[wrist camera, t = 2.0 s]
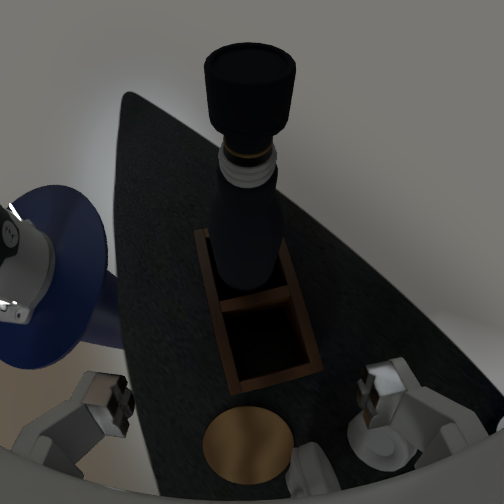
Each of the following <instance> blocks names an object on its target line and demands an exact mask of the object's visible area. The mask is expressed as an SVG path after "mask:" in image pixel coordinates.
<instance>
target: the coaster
mask: <svg viewBox="0 0 504 504" xmlns="http://www.w3.org/2000/svg"><path fill="white" fill-rule="evenodd" d="M293 448H294V440H293V436H292V433H291V430H290V429H289V427H288V425H287V424H286V423H285V421H284V420H283V419H282V418H281V417H279V416H278V415H277V414H275V413H273V412H272V411H270V410H267V409H264V408H261V407H256V406H241V407H236V408H232V409H230V410H227V411H225V412H223V413H222V414H220V415H219V416H217V417H216V418H215V419H214V420H213V421H212V422H211V424H210V425H209V427H208V428H207V430H206V432H205V435H204V439H203V451H204V456H205V458H206V461H207V462H208V464H209V466H210V467H211V468H212V469H213V470H214V471H215V472H216V473H217V474H218V475H220V476H221V477H223V478H224V479H226V480H229V481H231V482H234V483H238V484H247V485H249V484H259V483H263V482H266V481H268V480H271V479H272V478H274V477H276V476H277V475H279V474H280V473H281V472H282V471H283V470H284V469H285V468H286V467H287V465H288V464H289V462H290V460H291V454H292V449H293Z"/></svg>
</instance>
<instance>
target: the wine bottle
mask: <svg viewBox="0 0 504 504" xmlns="http://www.w3.org/2000/svg"><path fill="white" fill-rule="evenodd" d="M204 73H205V83H206V92H207V101H208V109H209V110H208V111H209V118H210V122H211V124H212V125H213V127H214V128H215V129H216V130H217V131H218V132H220V133H222V134H223V135H224V138H223V143H222V146H221V148H220V149H219V155H218V157H219V163H218V166H217V180H218V188H219V191H218V193H217V194H216V196H215V198H214V200H213V203H212V205H211V210H210V216H209V223H208V233H209V237H210V242H211V246H212V250H213V254H214V258H215V262H216V266H217V269H218V273H219V277H220V281H221V285H222V287H223V288H224V290H225V292H226V293H227V294H229V295H230V296H231V297H233V298H236V297H241V296H245V295H249V294H253V293H257V292H261V291H265V290H266V289H267V287H268V285H269V282H270V279H271V276H272V272H273V269H274V266H275V262H276V259H277V256H278V252H279V249H280V246H281V242H282V239H283V235H284V217H283V211H282V207H281V204H280V201H279V199H278V196H277V194H276V192H275V188H276V183H277V176H278V168H277V165H276V160H277V152H276V150H275V146H274V144H273V136H274V135H276V134H278V133H279V132H280V131H281V130H282V129H284V127H285V125H286V123H287V121H288V117H289V111H290V105H291V99H292V93H293V87H294V80H295V75H296V63H295V61H294V60H293V58H292V57H291V56H290V55H289V54H288V53H286V52H285V51H283V50H281V49H279V48H277V47H274V46H272V45H267V44H262V43H251V42H245V43H235V44H231V45H227V46H223V47H221V48H219V49H217V50H215V51H214V52H212V53H211V54H210V55H209V56H208V57H207V58H206V61H205V64H204Z"/></svg>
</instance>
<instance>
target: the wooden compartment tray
mask: <svg viewBox="0 0 504 504" xmlns="http://www.w3.org/2000/svg"><path fill="white" fill-rule="evenodd" d="M194 237H195V242H196V247H197V252H198V257H199V262H200V267H201V272H202V277H203V282H204V286H205V291H206V296H207V300H208V305H209V309H210V313H211V318H212V322H213V326H214V331H215V335H216V339H217V343H218V347H219V351H220V355H221V359H222V363H223V367H224V371H225V375H226V379H227V383H228V387H229V390H230V394H231V395H235V394H239V393H242V392H248V391H252V390H256V389H260V388H264V387H267V386H271V385H275V384H279V383H282V382H286V381H289V380H293V379H296V378H299V377H303V376H306V375H309V374H312V373H316V372H319V371H322V370H324V368H323V365H322V361H321V357H320V354H319V350H318V347H317V343H316V340H315V336H314V333H313V330H312V326H311V323H310V319H309V316H308V313H307V309H306V306H305V303H304V299H303V296H302V293H301V289H300V286H299V283H298V280H297V277H296V273H295V270H294V267H293V264H292V261H291V257H290V254H289V251H288V248H287V245H286V242H285V239H284V236H283V239H282V242H281V246H280V249H279V252H278V256H277V259H276V262H275V266H274V269H273V271H274V274H275V278H276V281H277V284H278V287H277V288H273V289H269V290H265V291H261V292H257V293H253V294H249V295H245V296H241V297H236V298H232V299H228V300H224V301H221V300H220V296H219V292H218V287H217V283H216V279H215V274H214V270H213V265H212V261H211V256H214V254H213V250H212V246H211V242H210V237H209V233H208V228H204V229H200V230H196V231H194ZM282 306H284V309H285V312H286V316H287V319H288V323H289V326H290V330H291V333H292V337H293V340H294V344H295V348H296V351H297V355H298V358H299V362H300V363H298V364H295V365H292V366H288V367H285V368H281V369H277V370H274V371H270V372H266V373H262V374H258V375H254V376H250V377H246V378H242V379H240V377H239V373H238V369H237V365H236V361H235V357H234V354H233V350H232V346H231V342H230V338H229V334H228V330H227V325H226V321H225V320H230V319H234V318H238V317H242V316H246V315H251V314H255V313H259V312H263V311H267V310H271V309H274V308H278V307H282Z"/></svg>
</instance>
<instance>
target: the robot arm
mask: <svg viewBox="0 0 504 504" xmlns="http://www.w3.org/2000/svg"><path fill="white" fill-rule="evenodd" d="M9 206H10V208H11V209H12V211H13V212H14V213H12V212H11V211H9V210H8V209H4V208H3V207H2V206H1V205H0V321H1V322H9V323H17V324H28V323H29V322H30V320H31V317H32V315H33V312H34V309H35V307H36V306H37V304H38V303H39V302H40V301H41V300H42V298H43V297H44V296H45V294H46V292H47V290H48V289H49V286H50V284H51V281H52V278H53V274H54V270H55V251H54V246H53V244H52V242H51V240H50V238H49V237H48V236H47V235H46V234H45V233H43V232H41V231H39V230H38V229H37V228H36V227H35V225H34V223H33V222H32V221H31V220H29V219H26V220H23V219H21V218H20V217H19V216H18V214H17V212H16V211H15V209H14V208H13V206H12V205H11V204H9ZM19 316H20V317H19ZM360 376H361V379H360V380H359V381H358V382H357V386H356V398H357V402H358V405H359V407H361V408H362V409H364V412H363V415H362V416H363V419H364V421H365V424H366V427H367V430H369V429H374V428H379V427H383V426H388V425H390V427H391V428H392V429H394V430H395V431H396V432H397V433H399V434H400V435H401V436H403V437H404V438H405V439H406V440H408V441H409V442H410V443H411V444H413V445H414V446H415V447H417V448H418V449H419V450H420V451H422V452H423V454H422V455H421V457H420V458H419V459H418V461H417V462H416V464H415V465H414V466H415V469H416V470H414V471H411V472H408V473H405V474H402V475H399V476H396V477H393V478H389V479H386V480H383V481H379V482H375V483H372V484H368V485H364V486H360V487H355V488H351V489H346V490H341V491H336V492H331V493H325V494H319V495H313V496H305V497H297V498H288V499H277V500H262V501H207V500H192V499H180V498H171V497H163V496H156V495H150V494H144V493H138V492H133V491H128V490H123V489H118V488H114V487H109V486H105V485H102V484H98V483H94V482H90V481H87V480H84V479H83V477H84V475H83V473H82V471H81V470H79V468H78V467H77V466H76V465H75V464H76V463H77V462H78V461H79V460H80V459H81V458H82V457H83V456H84V455H86V454H87V453H88V452H89V451H90V450H91V449H92V448H93V447H94V446H95V445H96V444H97V443H98V442H99V441H100V440H102V439H103V438H104V437H105V435H108V436H114V437H121V438H125V437H126V434H127V431H128V427H129V422H128V420H127V419H128V418H129V417H131V416H132V415H133V412H134V408H135V400H134V396H133V393H132V391H131V390H130V389H128V388H127V387H126V386H127V383H128V382H127V380H126V378H125V376H123V375H116V374H108V373H101V372H92V371H87V372H85V373H84V374H83V376H82V378H81V380H80V381H79V383H78V385H77V387H76V389H75V391H74V392H73V394H72V396H71V398H70V400H69V401H67V400H65V401H64V402H62V403H61V404H59V405H58V406H56V407H54V408H53V409H51V410H50V411H48V412H46V413H45V414H43V415H42V416H40V417H39V418H37V419H35V420H34V421H32V422H30V423H29V424H27V425H26V426H24V427H23V428H22V430H21V432H20V433H19V435H18V437H17V439H16V441H15V443H14V445H13V447H12V449H11V451H10V450H7V449H5V448H4V447H1V446H0V504H504V428H503V429H501V430H499V431H498V432H496V433H494V434H492V435H491V436H489V435H488V434H487V432H486V430H485V429H484V427H483V425H482V424H481V422H480V420H479V419H478V417H477V416H476V414H475V412H473V411H471V410H469V409H467V408H466V407H464V406H462V405H460V404H458V403H456V402H454V401H452V400H450V399H448V398H446V397H444V396H442V395H440V394H438V393H436V392H435V391H433V390H431V389H429V388H427V387H421V386H420V384H419V382H418V381H417V379H416V377H415V376H414V374H413V372H412V371H411V369H410V368H409V366H408V364H407V363H406V361H405V360H404V358H402V357H400V358H395V359H391V360H386V361H381V362H376V363H370V364H365V365H362V367H361V369H360Z"/></svg>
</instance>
